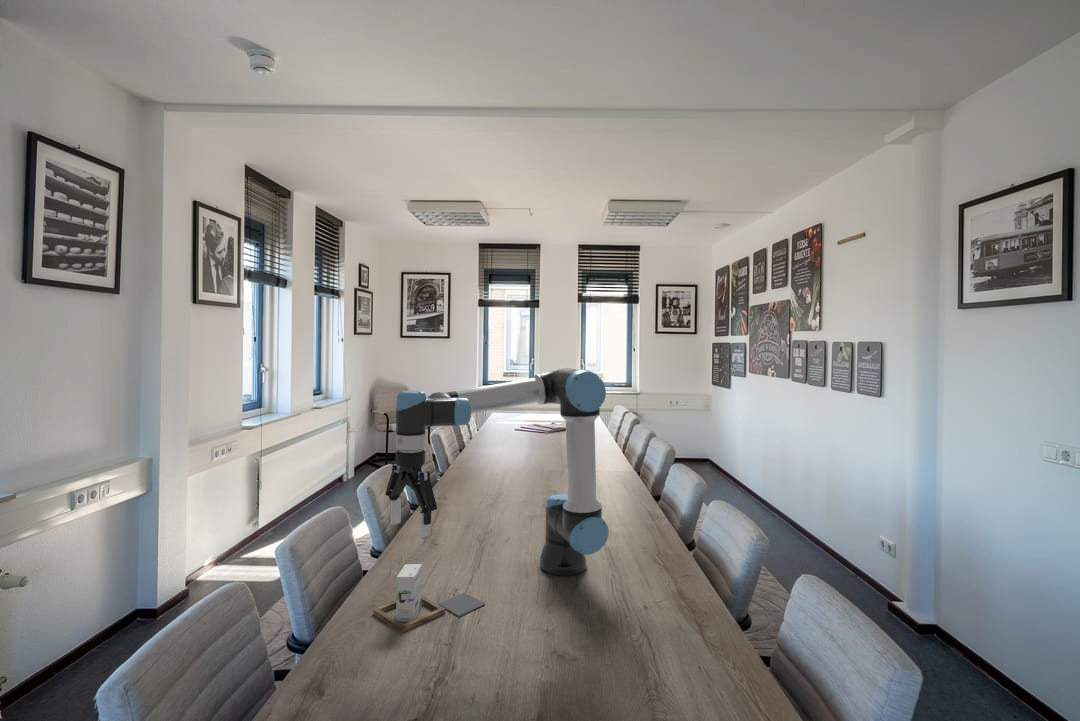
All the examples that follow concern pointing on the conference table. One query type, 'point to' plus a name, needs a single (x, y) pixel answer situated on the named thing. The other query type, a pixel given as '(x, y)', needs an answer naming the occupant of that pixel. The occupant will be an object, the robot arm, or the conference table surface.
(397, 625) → the walnut holder
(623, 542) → the conference table surface
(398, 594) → the ink box
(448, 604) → the felt mat
